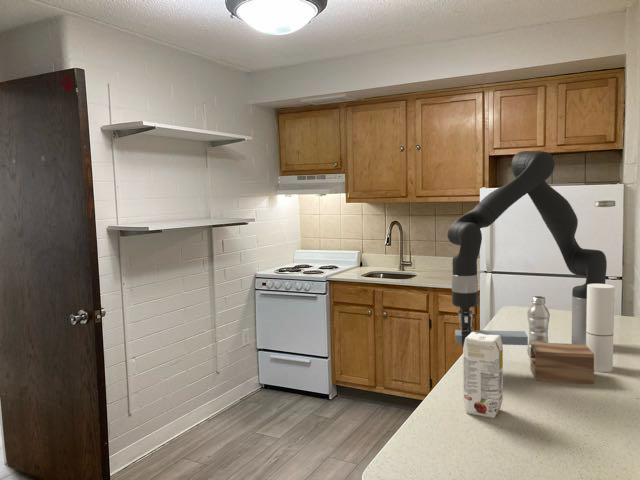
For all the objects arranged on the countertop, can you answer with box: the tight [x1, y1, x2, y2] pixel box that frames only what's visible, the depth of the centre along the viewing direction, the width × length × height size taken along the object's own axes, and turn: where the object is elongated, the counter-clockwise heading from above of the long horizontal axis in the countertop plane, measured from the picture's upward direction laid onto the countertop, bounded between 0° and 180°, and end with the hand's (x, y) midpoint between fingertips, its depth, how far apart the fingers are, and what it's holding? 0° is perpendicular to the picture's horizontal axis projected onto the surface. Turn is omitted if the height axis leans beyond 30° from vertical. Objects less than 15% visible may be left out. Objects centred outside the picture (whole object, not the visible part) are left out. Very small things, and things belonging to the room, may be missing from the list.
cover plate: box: [454, 329, 529, 346], centre depth 153 cm, size 6×20×2 cm, turn 77°
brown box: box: [529, 342, 595, 385], centre depth 149 cm, size 9×15×8 cm, turn 77°
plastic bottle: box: [526, 295, 551, 358], centre depth 164 cm, size 6×7×20 cm
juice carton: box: [462, 332, 504, 419], centre depth 127 cm, size 8×9×19 cm
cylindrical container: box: [586, 283, 615, 373], centre depth 154 cm, size 7×7×25 cm
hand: (465, 344), depth 155 cm, fingers closed on cover plate, 6 cm apart
